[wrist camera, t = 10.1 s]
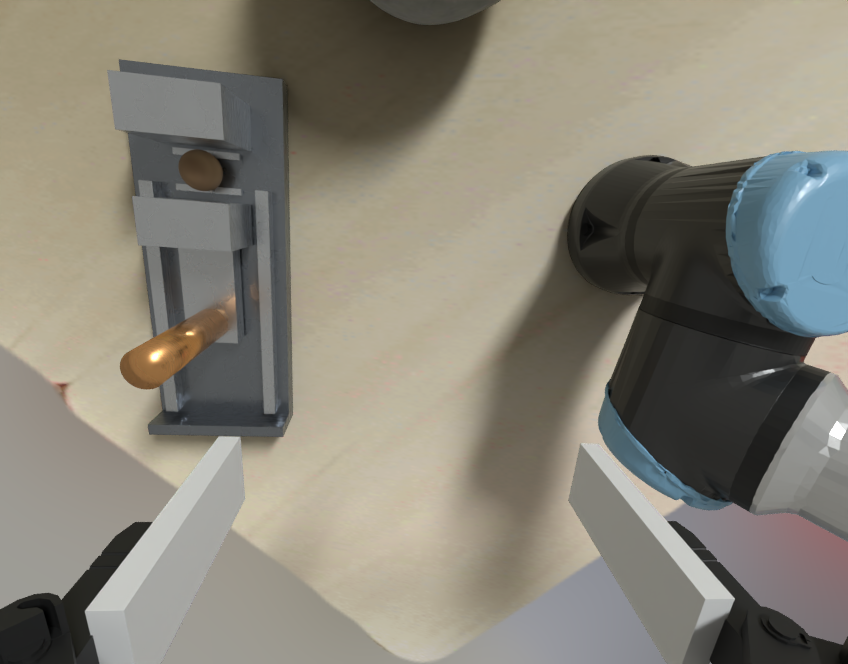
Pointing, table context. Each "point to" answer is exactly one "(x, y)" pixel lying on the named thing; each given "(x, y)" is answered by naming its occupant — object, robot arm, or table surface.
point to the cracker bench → (260, 263)
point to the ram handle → (192, 281)
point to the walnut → (200, 170)
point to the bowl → (433, 9)
